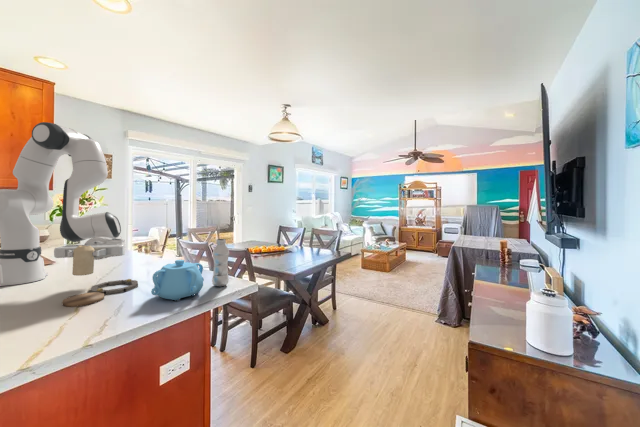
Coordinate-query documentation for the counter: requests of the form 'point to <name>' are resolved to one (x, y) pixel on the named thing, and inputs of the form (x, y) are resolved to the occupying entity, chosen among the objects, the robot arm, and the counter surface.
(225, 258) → the plastic bottle
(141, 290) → the counter surface
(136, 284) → the collar
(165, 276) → the decorative pot
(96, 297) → the coaster
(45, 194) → the robot arm
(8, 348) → the counter surface
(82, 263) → the candle
